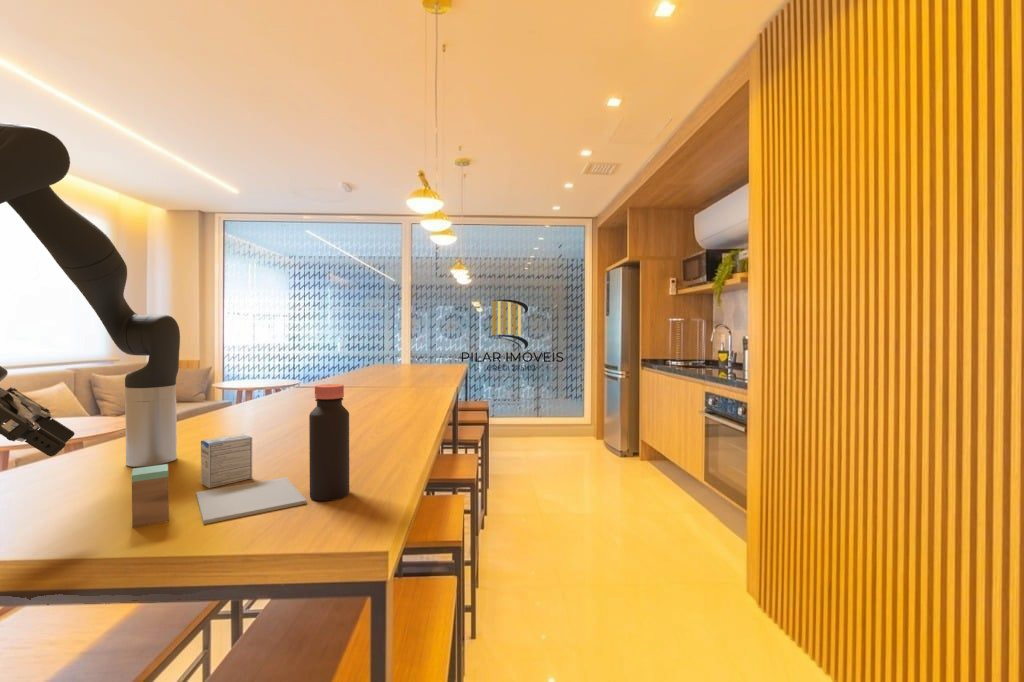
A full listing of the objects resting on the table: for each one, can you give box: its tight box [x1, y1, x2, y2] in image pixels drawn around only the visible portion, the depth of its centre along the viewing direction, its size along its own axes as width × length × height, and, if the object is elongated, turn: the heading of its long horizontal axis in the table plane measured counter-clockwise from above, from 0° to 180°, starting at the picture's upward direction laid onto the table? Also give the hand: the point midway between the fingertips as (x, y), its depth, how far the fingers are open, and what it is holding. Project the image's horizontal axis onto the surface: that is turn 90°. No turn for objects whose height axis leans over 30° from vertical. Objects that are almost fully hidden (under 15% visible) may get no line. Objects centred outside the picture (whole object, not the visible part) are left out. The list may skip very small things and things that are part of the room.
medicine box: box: [200, 433, 253, 489], centre depth 95 cm, size 8×4×9 cm, turn 141°
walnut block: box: [131, 463, 170, 529], centre depth 75 cm, size 4×4×8 cm
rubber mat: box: [195, 476, 307, 525], centre depth 85 cm, size 16×15×1 cm
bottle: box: [308, 383, 350, 502], centre depth 87 cm, size 7×7×20 cm
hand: (64, 444), depth 69 cm, fingers open, 8 cm apart
